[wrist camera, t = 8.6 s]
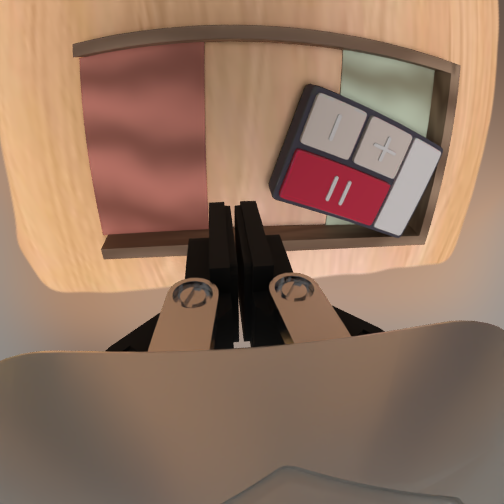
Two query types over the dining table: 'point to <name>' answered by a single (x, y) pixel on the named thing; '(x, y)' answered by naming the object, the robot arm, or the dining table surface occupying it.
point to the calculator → (353, 163)
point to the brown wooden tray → (193, 131)
